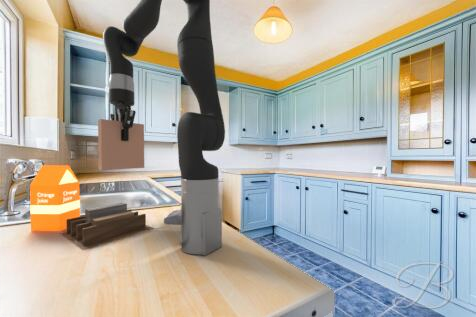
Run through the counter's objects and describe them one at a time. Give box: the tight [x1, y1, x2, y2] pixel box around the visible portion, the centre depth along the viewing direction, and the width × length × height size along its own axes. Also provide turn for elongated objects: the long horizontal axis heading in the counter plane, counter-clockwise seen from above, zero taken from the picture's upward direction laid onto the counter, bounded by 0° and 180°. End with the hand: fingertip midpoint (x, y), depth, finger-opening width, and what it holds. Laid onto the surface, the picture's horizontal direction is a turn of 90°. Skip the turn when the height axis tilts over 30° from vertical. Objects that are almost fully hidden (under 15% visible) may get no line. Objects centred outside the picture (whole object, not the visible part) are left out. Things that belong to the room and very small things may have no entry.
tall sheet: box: [97, 118, 145, 171], centre depth 71 cm, size 2×14×16 cm, turn 144°
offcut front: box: [91, 210, 135, 226], centre depth 58 cm, size 3×10×5 cm, turn 144°
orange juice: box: [29, 165, 81, 232], centre depth 64 cm, size 8×9×20 cm
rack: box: [59, 209, 155, 251], centre depth 60 cm, size 18×18×5 cm
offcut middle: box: [84, 202, 128, 223], centre depth 61 cm, size 3×10×7 cm, turn 144°
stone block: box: [163, 208, 181, 225], centre depth 72 cm, size 12×5×10 cm
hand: (122, 140), depth 71 cm, fingers closed on tall sheet, 2 cm apart
